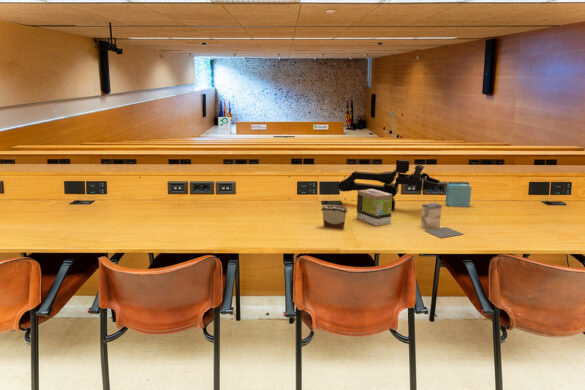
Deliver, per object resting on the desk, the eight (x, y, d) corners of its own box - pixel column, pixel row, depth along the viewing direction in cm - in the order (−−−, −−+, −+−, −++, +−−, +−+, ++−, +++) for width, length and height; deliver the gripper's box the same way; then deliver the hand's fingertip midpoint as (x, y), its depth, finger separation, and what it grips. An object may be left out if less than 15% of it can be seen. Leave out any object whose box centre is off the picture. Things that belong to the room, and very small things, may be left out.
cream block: (420, 226, 214) (422, 204, 211) (432, 224, 216) (434, 202, 214) (427, 229, 209) (429, 206, 207) (439, 227, 212) (441, 205, 209)
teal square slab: (467, 204, 253) (469, 184, 250) (469, 207, 248) (471, 185, 245) (445, 204, 253) (447, 183, 250) (447, 206, 249) (449, 185, 246)
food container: (349, 226, 214) (350, 205, 211) (346, 230, 208) (347, 209, 206) (324, 223, 218) (324, 203, 215) (320, 227, 212) (321, 206, 210)
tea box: (391, 223, 218) (393, 193, 215) (375, 226, 213) (377, 196, 210) (371, 215, 231) (372, 187, 227) (355, 218, 226) (356, 189, 222)
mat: (424, 231, 207) (424, 230, 207) (446, 227, 212) (446, 226, 212) (441, 238, 197) (441, 237, 197) (463, 234, 203) (463, 233, 202)
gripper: (406, 167, 225) (439, 171, 219) (412, 161, 241) (442, 164, 236) (404, 189, 228) (436, 193, 222) (410, 182, 244) (439, 185, 239)
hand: (438, 183), depth 229 cm, fingers open, 9 cm apart
